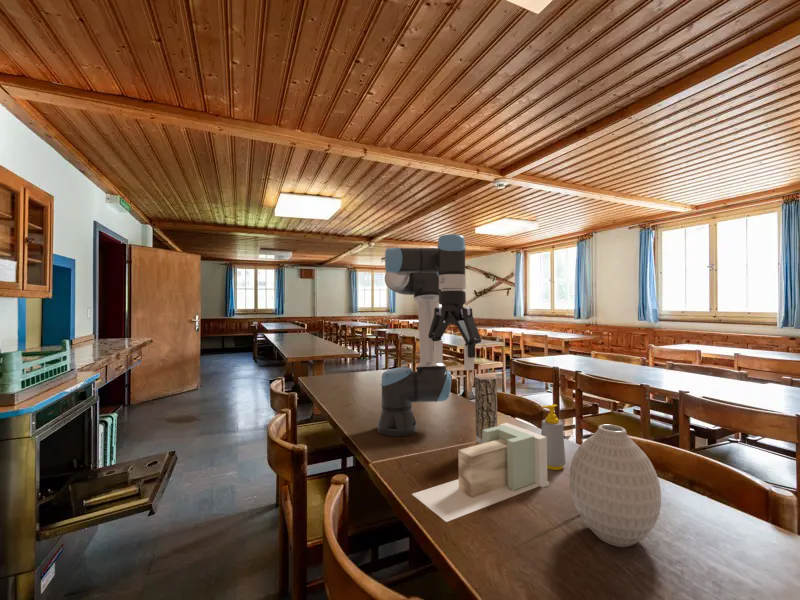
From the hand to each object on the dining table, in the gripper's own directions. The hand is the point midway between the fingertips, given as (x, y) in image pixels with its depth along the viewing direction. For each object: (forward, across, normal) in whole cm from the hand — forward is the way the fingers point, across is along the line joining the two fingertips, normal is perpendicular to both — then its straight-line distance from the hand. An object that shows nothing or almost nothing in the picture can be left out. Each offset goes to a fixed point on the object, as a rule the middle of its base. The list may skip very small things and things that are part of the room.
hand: (452, 366), depth 103 cm
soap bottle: (+31, +10, +29) cm, 44 cm away
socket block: (+30, +10, +10) cm, 33 cm away
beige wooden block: (+30, +10, +3) cm, 32 cm away
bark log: (+31, -7, +19) cm, 37 cm away
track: (+31, +10, +1) cm, 32 cm away
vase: (+31, +38, +11) cm, 50 cm away
